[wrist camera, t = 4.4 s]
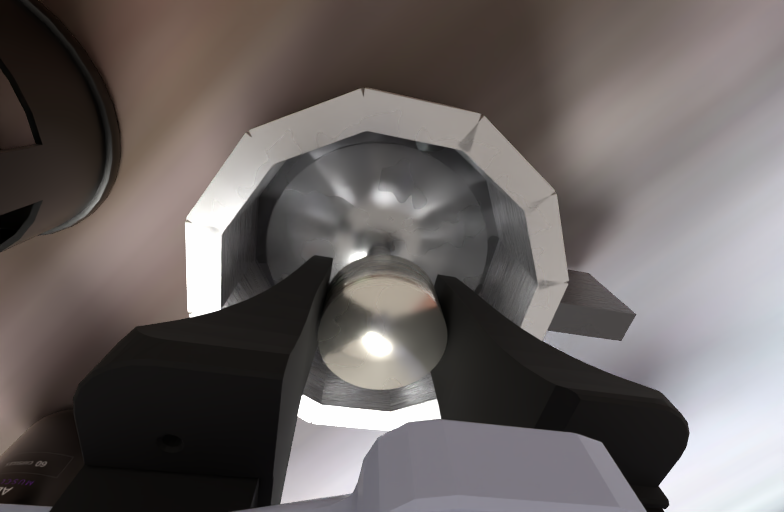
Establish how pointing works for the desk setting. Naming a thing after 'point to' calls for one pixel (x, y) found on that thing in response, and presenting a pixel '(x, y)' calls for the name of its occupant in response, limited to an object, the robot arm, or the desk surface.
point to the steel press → (468, 160)
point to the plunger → (380, 255)
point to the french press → (53, 127)
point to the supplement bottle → (41, 462)
